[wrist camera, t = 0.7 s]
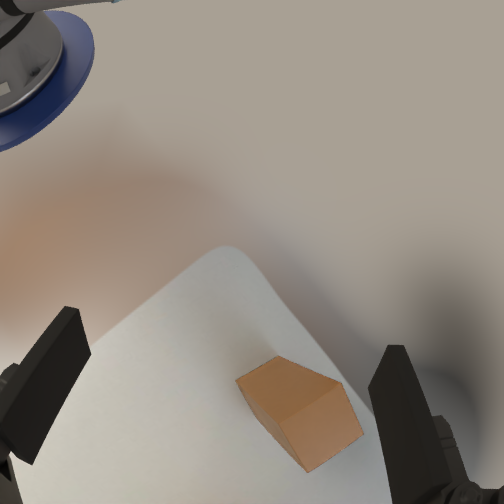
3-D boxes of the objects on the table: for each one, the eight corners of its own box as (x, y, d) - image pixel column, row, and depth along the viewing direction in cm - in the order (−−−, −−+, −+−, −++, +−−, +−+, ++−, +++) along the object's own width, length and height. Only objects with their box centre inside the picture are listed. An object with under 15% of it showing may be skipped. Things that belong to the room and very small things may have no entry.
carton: (234, 380, 30) (278, 424, 18) (278, 355, 31) (341, 382, 20) (257, 419, 30) (307, 473, 18) (298, 394, 31) (364, 434, 20)
